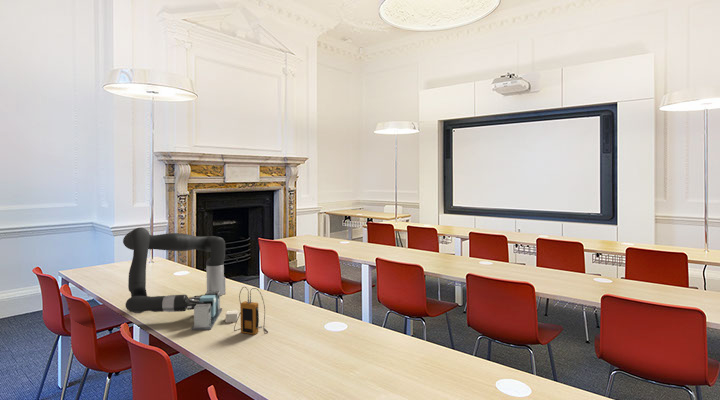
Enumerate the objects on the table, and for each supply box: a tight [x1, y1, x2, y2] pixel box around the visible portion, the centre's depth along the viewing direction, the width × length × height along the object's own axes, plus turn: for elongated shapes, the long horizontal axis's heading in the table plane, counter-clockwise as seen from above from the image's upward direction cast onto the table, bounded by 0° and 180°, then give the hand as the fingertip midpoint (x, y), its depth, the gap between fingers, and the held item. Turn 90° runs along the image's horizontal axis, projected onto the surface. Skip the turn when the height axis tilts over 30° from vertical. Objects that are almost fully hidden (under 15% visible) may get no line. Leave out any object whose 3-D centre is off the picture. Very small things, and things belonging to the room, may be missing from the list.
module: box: [200, 294, 216, 317], centre depth 183 cm, size 4×6×9 cm
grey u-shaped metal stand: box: [191, 290, 223, 332], centre depth 183 cm, size 26×8×10 cm, turn 9°
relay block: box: [225, 309, 239, 323], centre depth 183 cm, size 5×5×4 cm
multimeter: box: [233, 286, 269, 336], centre depth 171 cm, size 15×10×20 cm
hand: (213, 301), depth 184 cm, fingers open, 4 cm apart
